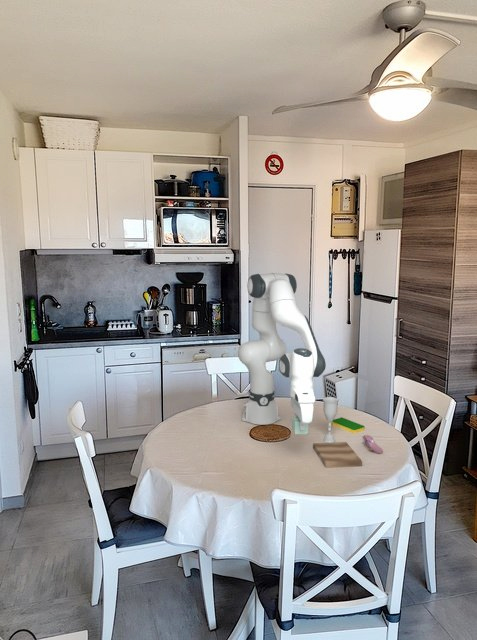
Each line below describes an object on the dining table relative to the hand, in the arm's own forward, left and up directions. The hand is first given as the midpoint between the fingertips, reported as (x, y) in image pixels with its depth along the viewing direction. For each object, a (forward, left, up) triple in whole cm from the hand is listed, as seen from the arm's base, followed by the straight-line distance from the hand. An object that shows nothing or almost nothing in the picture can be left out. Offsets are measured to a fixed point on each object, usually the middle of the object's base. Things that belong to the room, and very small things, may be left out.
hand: (300, 426), depth 185 cm
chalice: (-17, +17, -14) cm, 28 cm away
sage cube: (0, 0, -2) cm, 2 cm away
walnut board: (-1, +15, -14) cm, 20 cm away
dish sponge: (-31, +30, -14) cm, 45 cm away
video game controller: (-6, +32, -14) cm, 35 cm away
